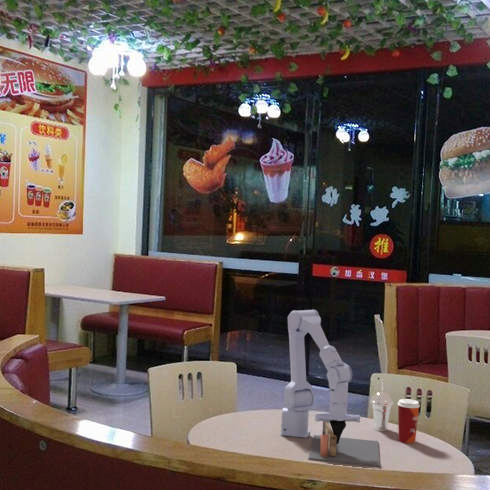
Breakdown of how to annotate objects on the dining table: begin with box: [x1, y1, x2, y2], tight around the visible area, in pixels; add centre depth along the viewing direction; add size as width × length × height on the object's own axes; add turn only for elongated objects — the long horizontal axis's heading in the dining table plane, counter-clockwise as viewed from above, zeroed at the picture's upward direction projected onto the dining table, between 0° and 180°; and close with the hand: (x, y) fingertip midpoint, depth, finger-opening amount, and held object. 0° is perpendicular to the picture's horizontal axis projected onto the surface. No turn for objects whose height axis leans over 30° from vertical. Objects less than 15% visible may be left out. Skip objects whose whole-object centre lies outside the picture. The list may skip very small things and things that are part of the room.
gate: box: [325, 422, 337, 456], centre depth 220 cm, size 16×2×6 cm, turn 1°
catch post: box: [320, 434, 329, 457], centre depth 214 cm, size 2×2×7 cm
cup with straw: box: [369, 377, 394, 432], centre depth 246 cm, size 8×9×20 cm
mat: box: [308, 434, 380, 468], centre depth 221 cm, size 22×24×1 cm
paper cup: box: [397, 398, 421, 444], centre depth 234 cm, size 8×8×14 cm
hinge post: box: [321, 421, 330, 435], centre depth 230 cm, size 2×2×8 cm
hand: (336, 443), depth 219 cm, fingers closed
